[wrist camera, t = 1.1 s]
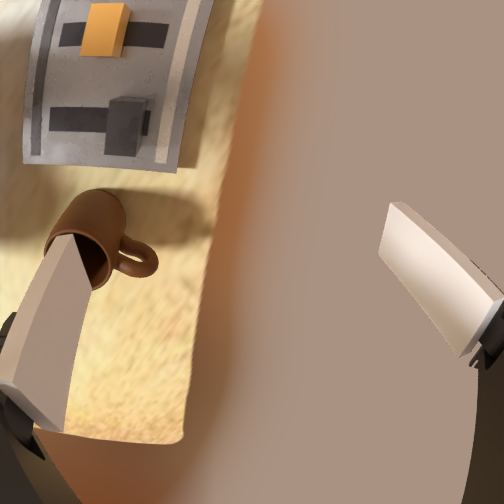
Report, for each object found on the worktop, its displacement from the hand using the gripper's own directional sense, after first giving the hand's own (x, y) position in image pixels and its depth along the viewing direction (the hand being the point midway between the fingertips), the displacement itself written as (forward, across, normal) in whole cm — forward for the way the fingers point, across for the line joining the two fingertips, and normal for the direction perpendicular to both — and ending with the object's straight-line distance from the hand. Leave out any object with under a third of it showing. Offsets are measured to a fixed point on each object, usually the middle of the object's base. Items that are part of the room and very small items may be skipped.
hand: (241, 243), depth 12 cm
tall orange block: (+20, -9, +12) cm, 25 cm away
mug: (+23, -12, -10) cm, 27 cm away
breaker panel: (+23, -9, +12) cm, 27 cm away
